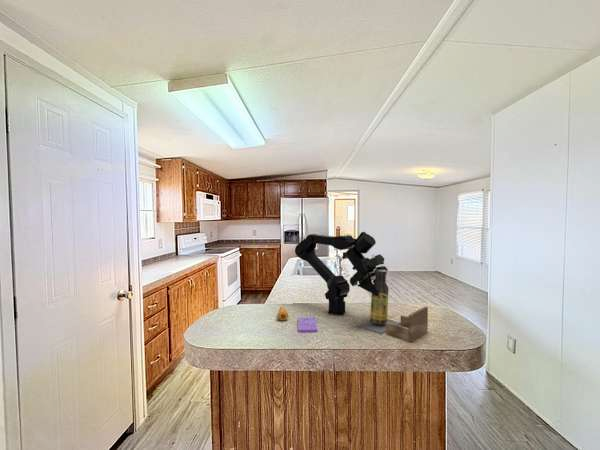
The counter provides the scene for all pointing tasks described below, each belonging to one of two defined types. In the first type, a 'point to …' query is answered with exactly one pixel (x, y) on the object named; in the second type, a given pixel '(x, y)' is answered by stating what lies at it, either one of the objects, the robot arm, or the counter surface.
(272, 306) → the counter surface
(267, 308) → the counter surface
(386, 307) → the sauce bottle
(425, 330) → the bottle rack
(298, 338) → the counter surface
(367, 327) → the charcoal mat
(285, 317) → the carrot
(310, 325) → the sponges
